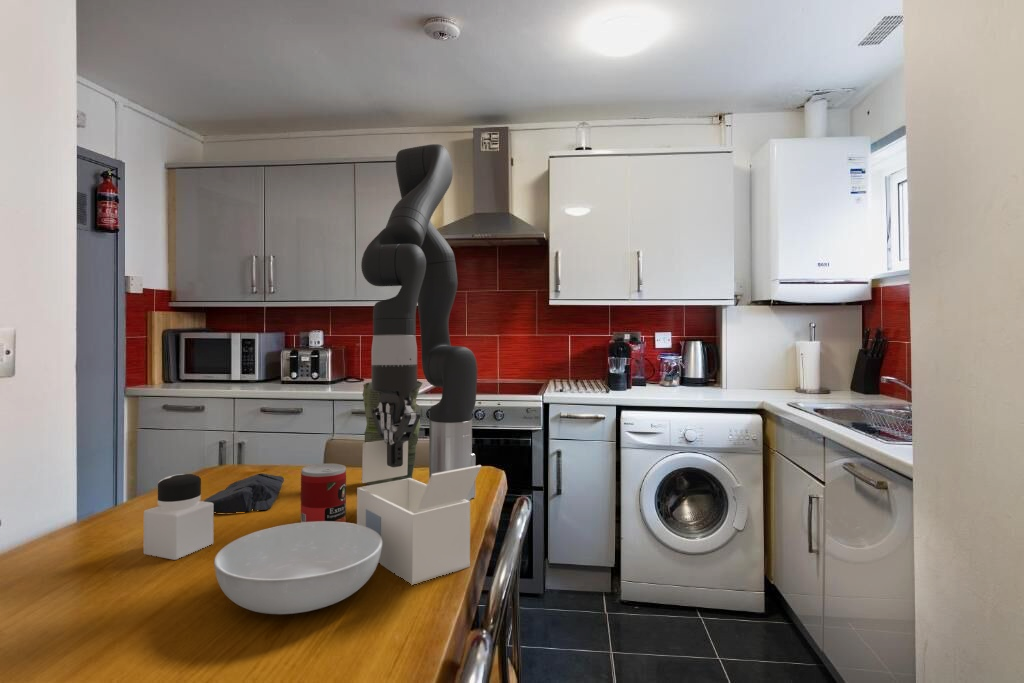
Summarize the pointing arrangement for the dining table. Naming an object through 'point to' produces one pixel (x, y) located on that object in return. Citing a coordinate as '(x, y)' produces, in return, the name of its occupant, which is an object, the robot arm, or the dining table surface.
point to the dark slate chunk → (248, 494)
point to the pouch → (372, 435)
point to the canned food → (323, 493)
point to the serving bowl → (297, 566)
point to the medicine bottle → (178, 519)
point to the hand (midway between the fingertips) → (394, 466)
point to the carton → (415, 530)
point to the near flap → (448, 486)
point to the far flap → (380, 462)
